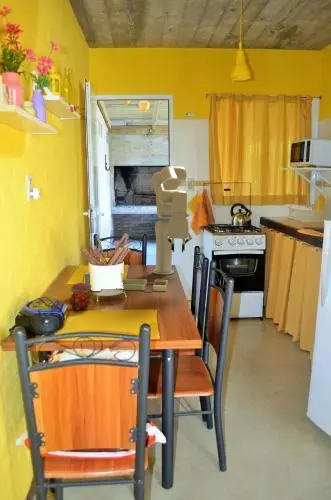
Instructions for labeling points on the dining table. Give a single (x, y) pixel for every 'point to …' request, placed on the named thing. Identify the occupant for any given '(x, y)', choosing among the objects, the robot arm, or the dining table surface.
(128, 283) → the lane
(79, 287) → the cupcake
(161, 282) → the walnut block
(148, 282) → the pads
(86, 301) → the dragon fruit
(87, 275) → the medicine box
